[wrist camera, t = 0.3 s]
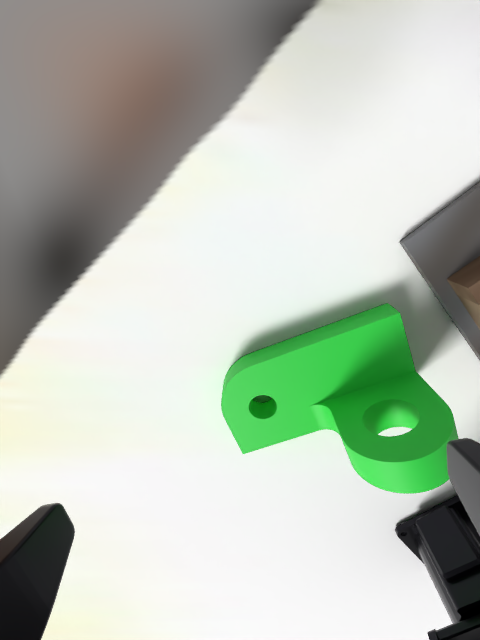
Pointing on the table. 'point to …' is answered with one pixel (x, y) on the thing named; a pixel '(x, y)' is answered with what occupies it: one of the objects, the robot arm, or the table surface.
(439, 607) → the table surface
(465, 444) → the robot arm
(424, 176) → the table surface
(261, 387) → the mechanical part
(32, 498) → the table surface
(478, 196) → the seat
